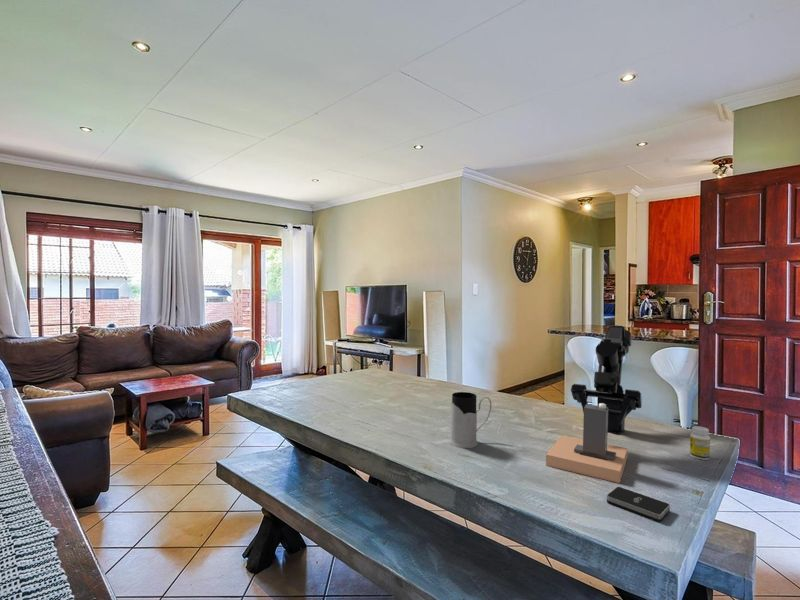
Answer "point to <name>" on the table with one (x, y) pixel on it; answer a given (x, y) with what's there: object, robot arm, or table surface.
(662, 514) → the external hard drive
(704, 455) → the supplement bottle
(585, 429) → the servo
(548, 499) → the table surface
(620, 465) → the plate
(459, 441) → the grey mug
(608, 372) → the robot arm
